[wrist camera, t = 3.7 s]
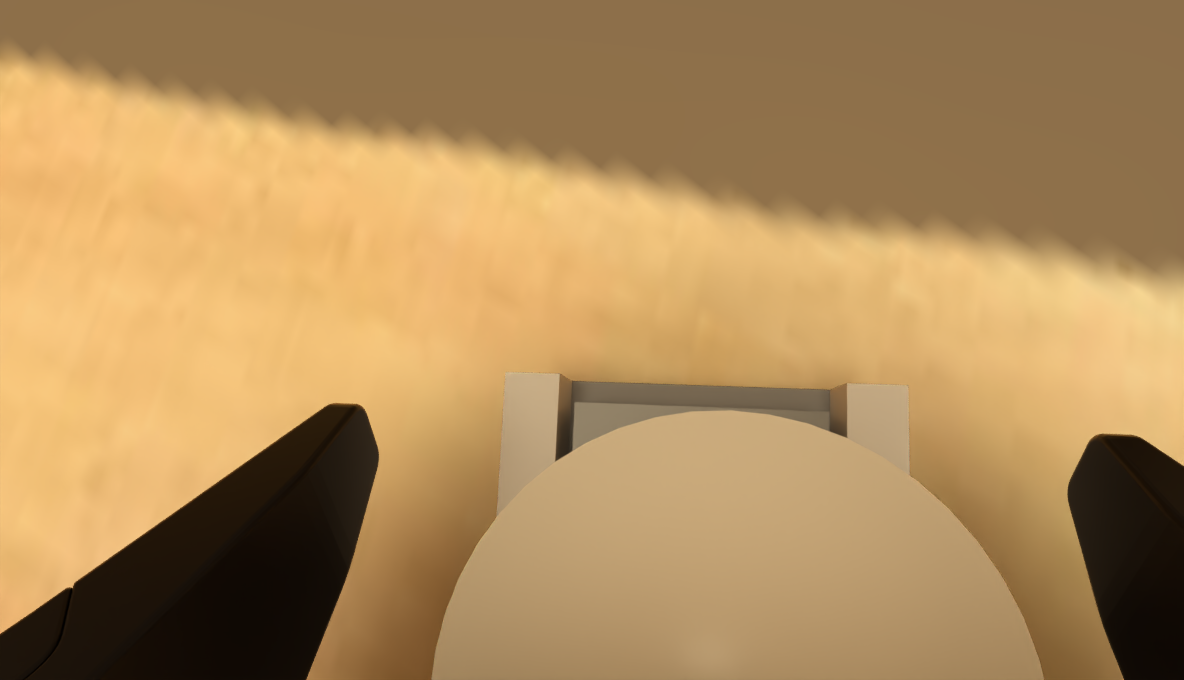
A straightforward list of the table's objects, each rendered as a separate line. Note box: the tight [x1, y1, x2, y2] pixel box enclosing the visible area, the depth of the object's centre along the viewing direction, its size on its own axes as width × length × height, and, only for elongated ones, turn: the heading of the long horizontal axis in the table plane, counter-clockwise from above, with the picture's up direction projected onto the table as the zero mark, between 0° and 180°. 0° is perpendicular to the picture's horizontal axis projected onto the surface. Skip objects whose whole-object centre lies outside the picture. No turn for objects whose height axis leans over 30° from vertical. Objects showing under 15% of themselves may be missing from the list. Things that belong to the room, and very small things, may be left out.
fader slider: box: [431, 402, 1044, 680], centre depth 9 cm, size 4×4×10 cm
